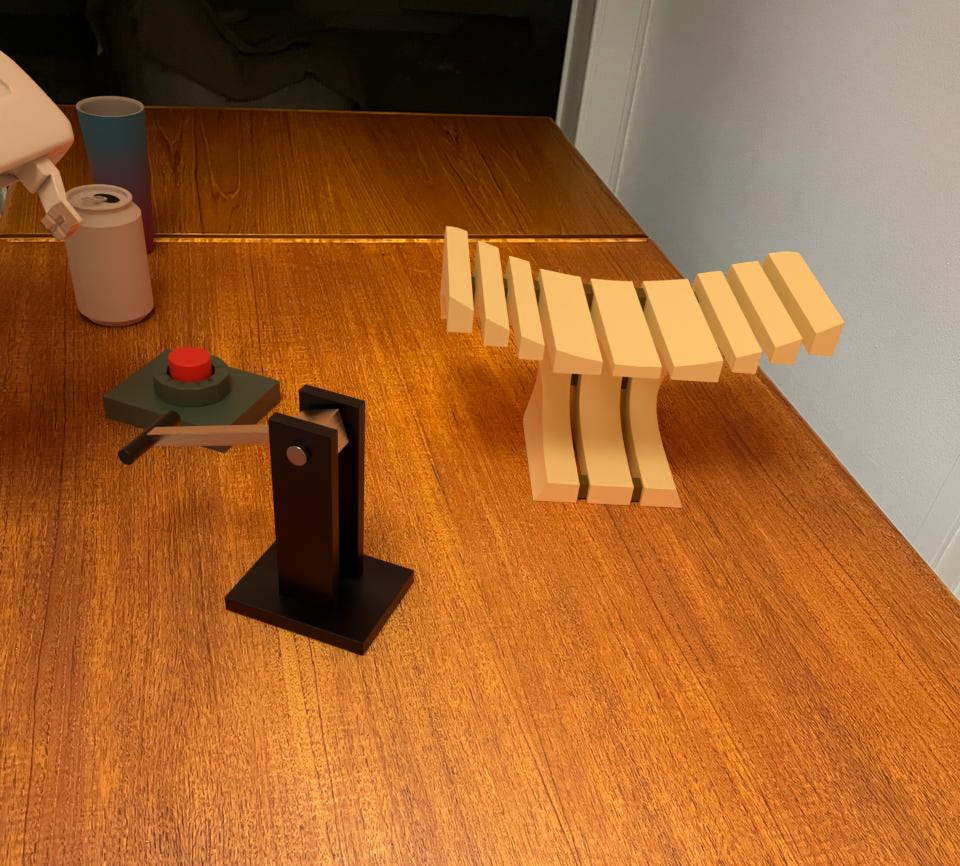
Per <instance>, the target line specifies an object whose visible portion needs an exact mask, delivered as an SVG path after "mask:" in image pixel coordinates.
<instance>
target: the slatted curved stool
mask: <svg viewBox="0 0 960 866" xmlns="http://www.w3.org/2000/svg"><path fill="white" fill-rule="evenodd" d="M444 228H445V229H444V235H443V236H444V238H443V251H442V263H441V264H442V266H441V277H440V278H441V280H440V294H439V295H440V296H439V297H440V298H439V300H440V301H439V302H440V303H439V305H440V320H444V319H445V320H446V332H448V333H460V334H461V333H462V334H473V328H474V327H473V325H474V318H475V319H479V321H480V328H481V329H480V330H481V337H482V338H481V339H482V346H483V347H484V346H485V347H499V348H500V347H502V348H508V347H509V339H510V333H511V331H510V326H511V327H512V330H513V334H514V339H515V346H516V352H517V357H518V358H517V359H518V360H524V361H525V360H526V361H537V373H536V378H535V383H534V386H533V389H532V392H531V394H530V398H529V400H528V403H527V406H526V408H525V411H524V415H523V418H522V427H523V433H524V434H523V436H524V442H525V451H526V457H527V458H526V459H527V465H528V473H529V479H530V487H531V494H532V495H531V496H532V501H535V502H555V503H572V504H573V503H574V504H576V503H578V499H585V501H586V504H593V505H594V504H595V505H612V506H613V505H615V506H631V501H632V502H638V503H639V506H640V507H654V508H655V507H656V508H672V509H673V508H675V509H676V508H677V509H683V506H682V505H683V504H682V502H681V499H680V496H679V492H678V489H677V486H676V484H675V479H674V477H673V474H672V470H671V467H670V464H669V461H668V458H667V455H666V451H665V448H664V445H663V440H662V436H661V433H660V427H659V422H658V415H657V414H658V412H657V403H658V402H657V401H658V394H659V390H660V388H661V384H662V382H663V381H664V378H665V376H666V375H667V374H668V376H669V378H670V380H672V381H687V382H689V381H690V382H703V383H719V378H720V375H721V372H722V369H723V365H724V358H725V360H726V363H727V364H728V367H729V369H730V370H731V373H736V374H737V373H738V374H752V375H756V374H757V371H758V368H759V363H760V361H761V357H762V354H763V353H764V354H765V356H766V358H767V360H768V362H769V364H771V365H782V366H783V365H786V366H794V365H795V363H796V361H797V357H798V354H799V351H800V347H801V345H802V346H803V347H804V349H805V351H806V352H807V354H808V355H809V356H819V357H833V356H834V353H835V351H836V348H837V345H838V343H839V340H840V337H841V334H842V331H843V328H844V326H845V320H844V319H843V317H842V316H841V315H840V313H839V311H838V310H837V309H836V307H835V306H834V303H833V302H832V301H831V299H830V298H829V296H828V295H827V292H825V289H824V288H823V287H822V285H821V283H820V282H819V281H818V280H817V278H816V276H815V275H814V273H813V272H812V269H810V267H809V265H808V264H807V262H806V261H805V259H804V258H803V256H802V255H801V254H800V253H799V252H797V251H775V252H769V253H767V254H766V256H764V258H763V260H762V262H761V264H760V262H759V260H753V261H745V262H740V263H733V264H731V265H730V267H729V269H728V271H727V273H726V276H725V274H724V272H723V270H716V271H708V272H699V273H697V274H696V275H695V278H694V280H693V283H692V285H691V282H690V281H689V279H688V278H681V279H664V280H643V281H642V282H641V285H640V287H635V285H634V282H633V280H612V279H601V278H592V277H591V278H590V279H589V282H588V283H583V280H582V277H581V276H578V275H573V274H568V273H562V272H557V271H553V270H549V269H544V268H539V269H538V270H539V271H538V274H537V278H536V280H534V279H533V273H532V268H531V263H530V261H528V260H526V259H522V258H519V257H515V256H512V255H509V256H508V259H507V263H506V268H505V277H504V278H503V269H502V263H501V256H500V248H499V247H498V246H495V245H492V244H491V243H487V242H484V241H481V240H477V243H476V249H475V256H474V266H473V275H472V271H471V270H472V269H471V262H470V259H471V258H470V250H469V249H470V247H469V234H468V231H467V230H466V229H462V228H460V227H456V226H451V225H450V226H449V225H446V226H445V227H444ZM723 356H724V358H723ZM573 440H574V443H573ZM574 446H575V450H576V455H577V460H578V465H579V471H580V474H578V469H577V468H578V467H577V463H576V457H575V450H574Z"/></svg>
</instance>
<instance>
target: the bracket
mask: <svg viewBox="0 0 960 866" xmlns="http://www.w3.org/2000/svg"><path fill="white" fill-rule="evenodd" d="M321 409H339V411H340V415H341V418H342V421H343V424H344V427H345V431H346V434H347V437H348V440H349V442H348V443H347V444H346V445H345V447H344V448H343V449H342V450H341V451H340V452H339V453H338V430H336V429H333V428H330V427H326V426H323V425H319V424H316V423H312V422H309V421H305V420H302V419H299V418H295V417H296V416H291V415H289V414H284V413H281V412H277V411H274V412H273V414H271V415H270V417H268V419H267V424H268V428H269V443H270V445H269V456H270V473H271V486H272V487H271V489H272V503H273V506H272V507H273V522H274V536H275V540H274V541H273V542H272V543H271V544H270V545H269V547H268V548H267V549H265V551H264V553H262V554H261V556H260V557H259V558H258V559H257V560H256V561H255V562H254V563H253V565H252V566H251V567H250V568H249V569H248V570H247V571H246V573H244V575H243V576H242V577H241V578H240V579H239V580H238V582H236V584H235V585H234V586H233V587H232V588H231V589H230V591H229V592H227V594H225V596H224V606H225V610H227V611H230V612H231V613H232V612H233V613H235V614H238V615H241V616H243V617H248V618H250V619H252V620H253V619H254V620H256V621H258V622H262V623H265V624H268V625H271V626H274V627H277V628H279V629H283V630H285V631H289V632H291V633H295V634H297V635H301V636H304V637H307V638H310V639H312V640H316V641H318V642H321V643H324V644H327V645H330V646H333V647H337V648H339V649H343V650H344V651H348V652H350V653H354V654H357V655H359V656H364V655H365V653H366V652H367V650H368V649H369V647H370V646H371V644H372V643H373V642H374V640H375V639H376V637H377V636H378V635H379V633H380V631H381V630H382V629H383V627H384V626H385V624H386V622H387V621H388V620H389V618H390V617H391V615H392V614H393V612H395V609H396V608H397V607H398V606H399V604H400V602H401V601H402V599H403V598H404V597H405V595H406V594H407V592H408V590H409V589H410V588H411V586H412V584H413V583H414V581H415V579H414V578H415V569H412V568H408V567H405V566H402V565H399V564H396V563H393V562H389V561H387V560H383V559H380V558H377V557H374V556H371V555H368V554H364V547H365V546H364V545H365V544H364V543H365V537H364V536H365V470H366V469H365V466H366V465H365V461H366V460H365V459H366V452H365V451H366V400H364V399H360V398H358V397H357V398H356V397H353V396H350V395H346V394H343V393H339V392H336V391H333V390H328V389H325V388H321V387H318V386H315V385H311V384H307V383H305V384H304V385H303V386H301V387H300V389H298V410H299V411H298V414H299V413H300V412H301V411H302V410H321Z"/></svg>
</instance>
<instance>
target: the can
mask: <svg viewBox="0 0 960 866" xmlns="http://www.w3.org/2000/svg"><path fill="white" fill-rule="evenodd" d="M65 192H66V191H65ZM66 196H67V201H68V202H69V203H70V205H71V206H72V207H73V208H74V209H75V211H76V212H77V213H78V214H79V215H80V217H81V218H82V221H83V226H82V227H81V228H80V229H79V230H78V231H77V232H76V233H75V234H74V235H72V236H70V237H68V238H66V239H63V241H64V246H65V250H66V255H67V260H68V261H67V262H68V266H69V271H70V277H71V281H72V286H73V292H74V296H75V302H76V307H77V310H78V312H79V313H80V314H81V315H83V316H84V317H86V318H88V319H89V320H90V321H92V323H95V324H98V325H101V326H106V327H124V326H129V325H133V324H136V323H139V322H141V321H142V320H144V319H145V318H146V317H147V315H149V314H150V313H151V311H152V310H153V309H154V307H155V305H154V304H155V303H154V295H153V289H152V288H153V287H152V282H151V280H152V279H151V273H150V266H149V260H148V259H149V258H148V254H147V251H146V244H145V237H144V230H143V223H142V216H141V209H140V208H139V207H138V206H137V205H136V204H135V203H134V202H132V195H131V193H130V192H129V191H127V190H125V189H123V188H121V187H117V186H113V185H104V184H94V183H93V184H84V185H79V186H76V187H73V188H71V189H69V190H67V192H66Z"/></svg>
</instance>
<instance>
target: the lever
mask: <svg viewBox="0 0 960 866" xmlns="http://www.w3.org/2000/svg"><path fill="white" fill-rule="evenodd" d="M294 417H295V418H299V419H302V420H305V421H309V422H312V423H316V424H319V425H323V426H326V427H330V428H333V429H336V430H338V453H339V452H340V451H341V450H342V449H343V448H344V447H345V445H346V444H347V443H348V442H349V440H348V437H347V434H346V431H345V427H344V424H343V421H342V418H341V415H340V411H339V409H321V410H302V411H301V412H300V413H299V412H298V414H297V415H296V416H294ZM180 423H181V417H180V415H179V414H178V413H177V412H176V411H174V410H169V411H167V412H166V413H165V414H164V415H162V416H161V417H160V418H159V419H157V420H156V421H155V422H154V423H153V424H151V425H150V426H149V427H148V428H146V429H143V431H141V432H140V433H139V434H138V435H136V436H135V437H134V438H133V439H131V441H129V442H128V443H127V444H125V445H124V446H123V447H122V448H120V449H119V450H118V451H117V458H118V460H119V461H120V462H121V463H122V464H123V465H126V466H131V465H134V463H135V462H136V461H137V460H139V459H140V458H141V457H142V456H144V455H145V454H146V453H147V452H148V451H150V450H151V449H152V448H155V447H161V448H163V447H201V446H232V447H235V446H270V443H269V428H268V423H266V424H256V425H222V426H180V427H177V426H178V425H179V424H180Z"/></svg>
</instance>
